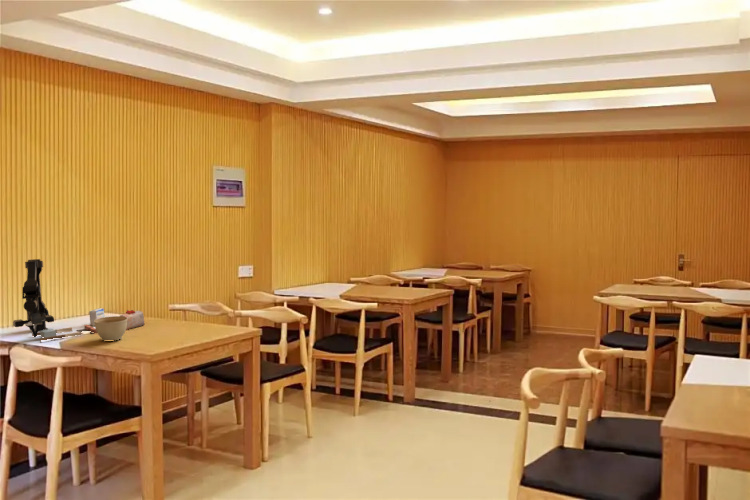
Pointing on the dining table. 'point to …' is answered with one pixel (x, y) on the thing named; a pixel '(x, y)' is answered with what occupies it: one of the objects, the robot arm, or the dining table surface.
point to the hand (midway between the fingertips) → (35, 337)
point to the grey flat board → (87, 328)
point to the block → (48, 333)
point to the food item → (134, 319)
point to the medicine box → (96, 315)
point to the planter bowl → (111, 327)
